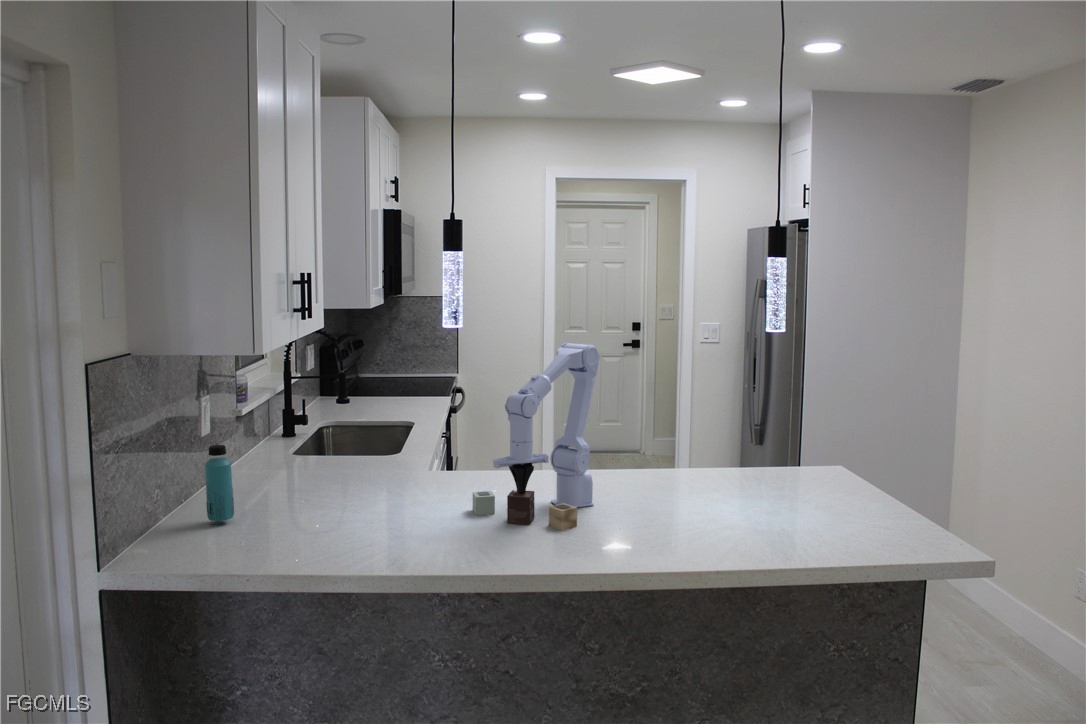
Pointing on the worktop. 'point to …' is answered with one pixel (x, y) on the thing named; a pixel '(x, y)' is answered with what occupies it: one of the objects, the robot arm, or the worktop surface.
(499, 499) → the worktop surface
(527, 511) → the box
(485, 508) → the sage marked block
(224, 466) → the beverage bottle
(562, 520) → the oak marked block
